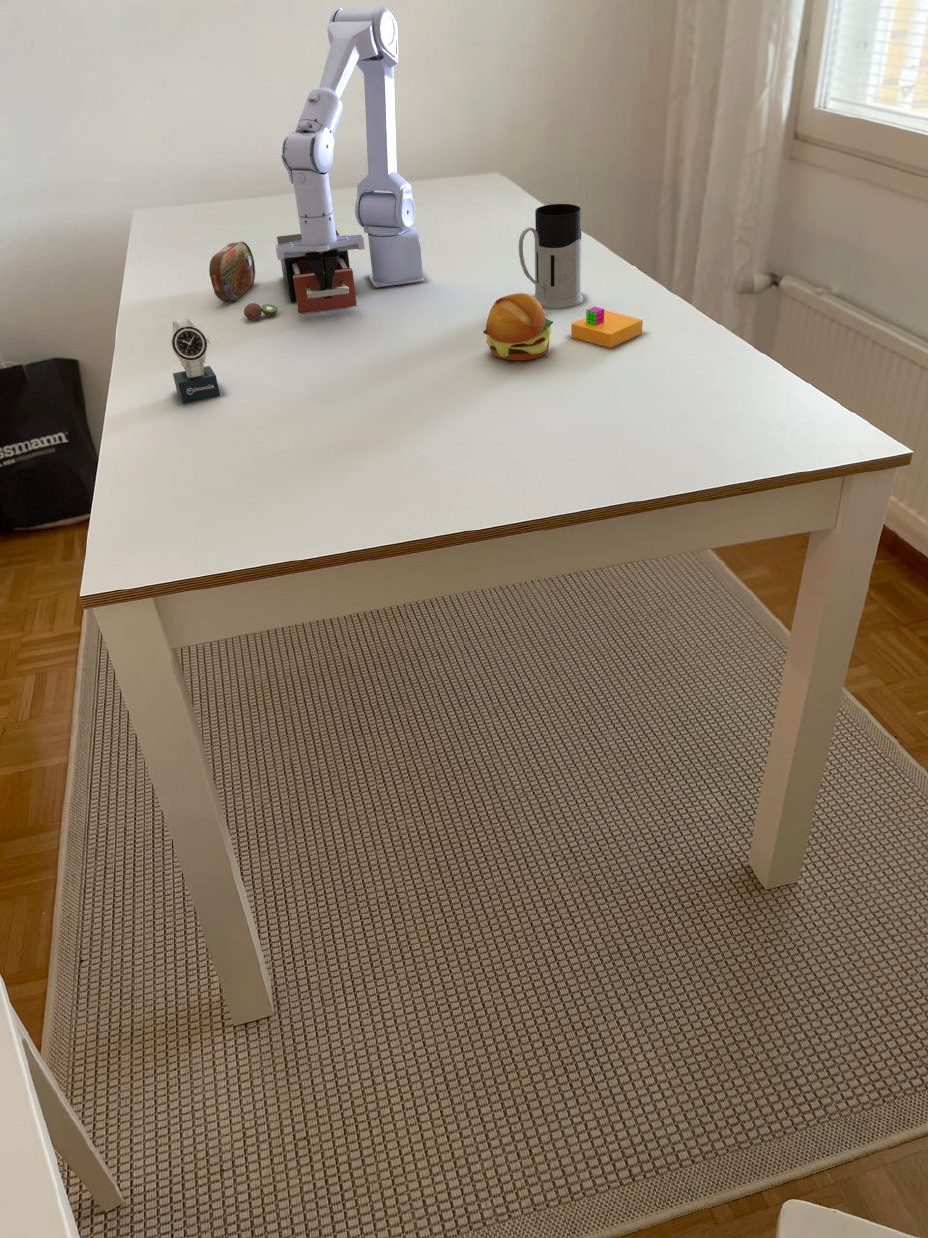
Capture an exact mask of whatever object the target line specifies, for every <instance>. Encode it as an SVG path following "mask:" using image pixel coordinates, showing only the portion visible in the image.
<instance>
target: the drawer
mask: <svg viewBox="0 0 928 1238" xmlns="http://www.w3.org/2000/svg"><path fill="white" fill-rule="evenodd" d="M321 259H322V258H321ZM290 265H291V271H292V278H293V284H294V289H295V294H296V300H297V302H296V306H297V312H298V314H301V315H302V314H306V313H316V312H321V311H323V312H324V311H329V310H338V309H345V308H353V307H357V306H358V305H357V296H356V288H355V280H354V270H353V269H352V267H350V269H347V266H346V264H345V263H344V261H343V259H342V257H341V255H339V260H338V264H337V267H336V270H335V274H334V278H333V284H332V288H329V289H321V287H320V284H319V282H318V280H317V278H316V276H315V274H314V272H313V270H312V269H311V267H310V265H309V264H308V262H307V260H299V261H291V262H290ZM323 271H324V268H323ZM324 279H325V275H324ZM326 296H332V298H327V299H324V298H323V297H326Z"/></svg>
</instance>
